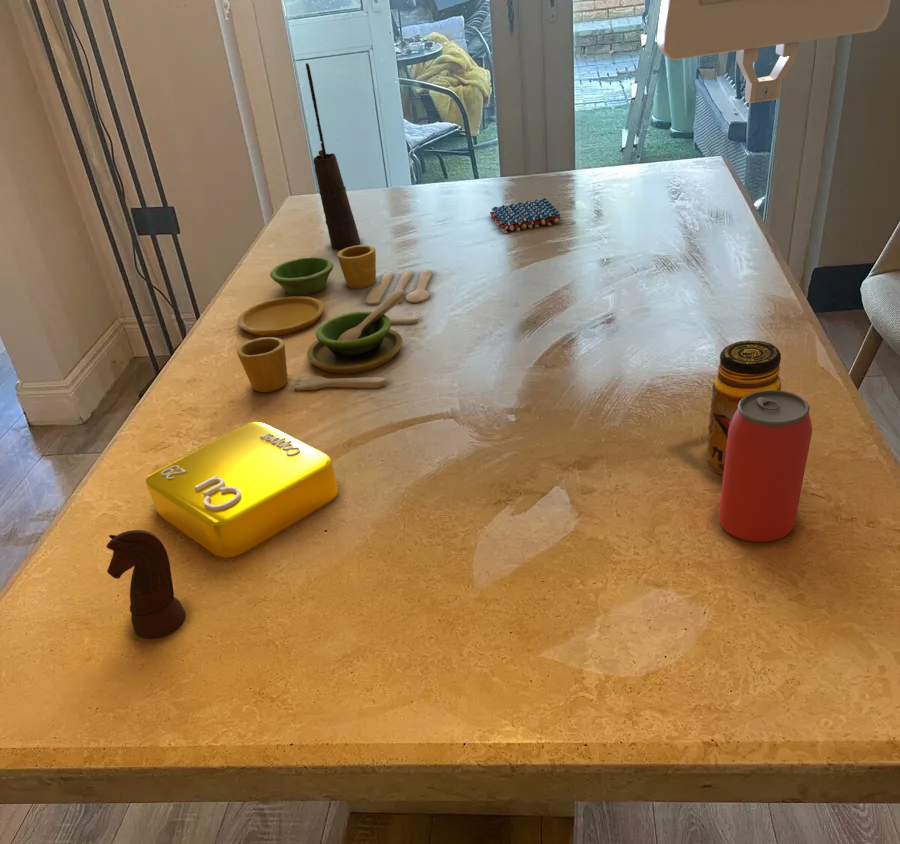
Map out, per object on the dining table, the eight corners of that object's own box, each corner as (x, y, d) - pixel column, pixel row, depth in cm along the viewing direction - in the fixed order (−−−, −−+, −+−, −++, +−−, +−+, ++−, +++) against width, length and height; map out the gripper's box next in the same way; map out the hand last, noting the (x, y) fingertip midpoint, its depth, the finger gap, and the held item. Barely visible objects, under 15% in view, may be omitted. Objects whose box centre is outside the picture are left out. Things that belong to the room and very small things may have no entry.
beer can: (763, 496, 80) (781, 379, 72) (810, 532, 75) (835, 411, 68) (703, 516, 79) (715, 400, 71) (747, 555, 74) (764, 434, 66)
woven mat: (488, 218, 152) (487, 206, 150) (545, 208, 152) (545, 196, 151) (501, 235, 144) (500, 223, 142) (562, 225, 145) (561, 212, 143)
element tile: (347, 494, 88) (338, 454, 85) (227, 565, 81) (212, 525, 78) (266, 450, 97) (255, 413, 94) (151, 511, 90) (135, 473, 87)
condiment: (728, 490, 81) (742, 375, 74) (677, 451, 88) (685, 341, 80) (791, 468, 83) (811, 353, 75) (736, 431, 89) (750, 321, 81)
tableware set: (387, 395, 104) (378, 346, 100) (180, 400, 110) (164, 355, 106) (442, 270, 135) (437, 229, 131) (278, 279, 140) (268, 240, 136)
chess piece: (130, 619, 77) (87, 530, 70) (185, 598, 78) (147, 509, 72) (141, 648, 74) (97, 558, 67) (198, 625, 75) (160, 535, 69)
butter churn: (321, 238, 154) (284, 58, 135) (373, 233, 153) (343, 51, 134) (313, 256, 147) (273, 69, 129) (367, 250, 146) (334, 61, 128)
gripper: (669, -62, 71) (661, 122, 80) (917, -100, 70) (881, 91, 79) (652, -66, 76) (647, 108, 85) (884, -102, 75) (854, 79, 84)
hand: (762, 100), depth 82 cm, fingers closed
